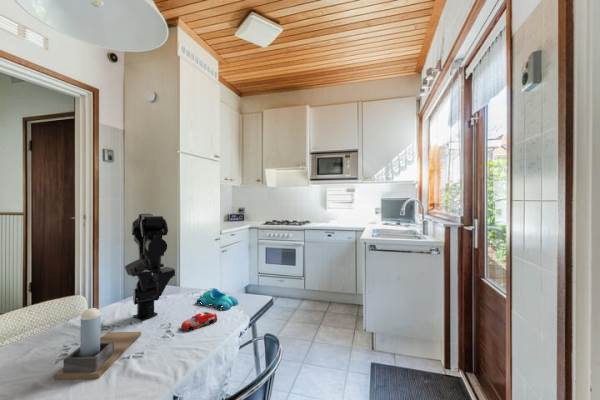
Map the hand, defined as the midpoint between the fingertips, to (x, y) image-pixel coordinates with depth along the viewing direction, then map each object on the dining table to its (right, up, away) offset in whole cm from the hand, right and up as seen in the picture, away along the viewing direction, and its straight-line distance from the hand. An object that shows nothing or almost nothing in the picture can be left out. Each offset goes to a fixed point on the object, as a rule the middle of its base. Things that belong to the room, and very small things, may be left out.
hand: (151, 293), depth 96 cm
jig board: (-6, -13, -16) cm, 21 cm away
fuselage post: (-5, -12, -22) cm, 25 cm away
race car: (+16, -14, +5) cm, 21 cm away
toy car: (+16, -14, +25) cm, 33 cm away
